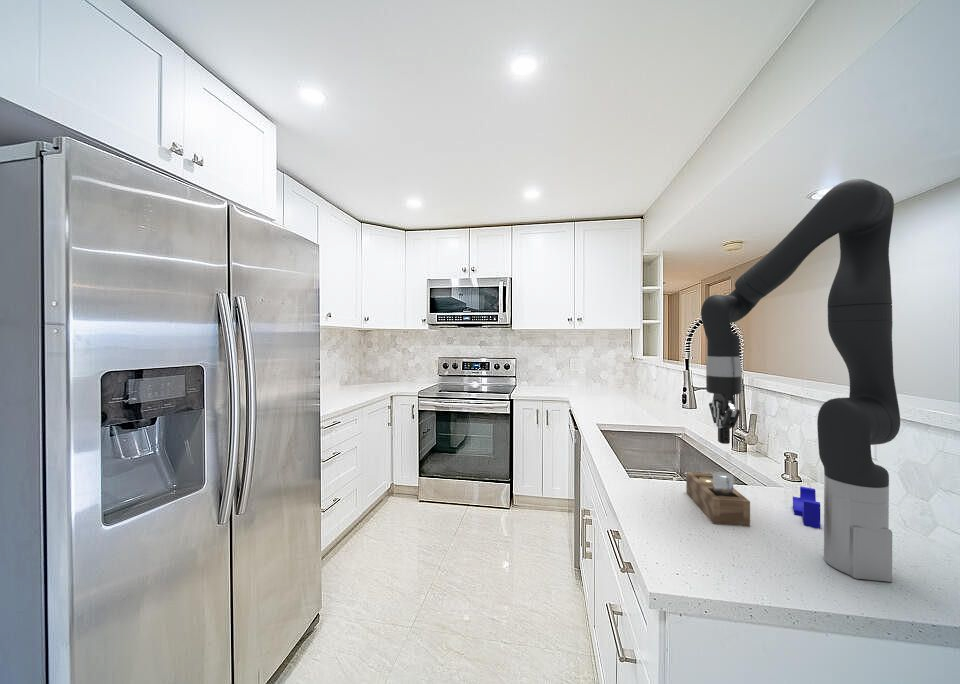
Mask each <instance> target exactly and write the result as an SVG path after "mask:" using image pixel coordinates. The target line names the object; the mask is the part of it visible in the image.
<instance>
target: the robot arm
mask: <svg viewBox="0 0 960 684" xmlns="http://www.w3.org/2000/svg"><path fill="white" fill-rule="evenodd" d="M894 209H895V200H894V197H893V195H892V193H891V192H890V191H889V189H887V188H885V187H884V186H882V185H879V184H878V183H875V182H873V181H870V180H867V179H862V178H854V179H848V180H845V181H843V182H840V183H838V184H836V185H835V186H833V187H832V188H830V189H829V190H828V191H827V192H826V194H824V195H823V196H822V197H821V198H820V199H819V201H817V203H816V204H815V205H814V206H813V207H812V208H811V209H810V210H809V211H808V213H807V214H806V215H805V216H804V217H803V218H802V219H801V220H800V221H799V222H798V223H797V224H796V225H795V226H794V228H793V229H791V230H790V231H789V233H788V234H786V236H785V237H784V238H783V239H782V240H781V241H780V242H778V244H777V245H776V246H775V247H774V248H772V249H771V250H770V251H769V252H768V253H767V254H765V256H763V257H762V258H760V259H759V260H758V261H757V262H756V263H755V264H754V265H753V266H751V267H750V268H749V269H747V270H746V271H745V272H744V273H743V274H741V276H738V278H737V279H736V280H735V282H734V290H733V291H731V293H729V294H728V295H724V294H713V295H710V296H709V297H707V298H706V299H705V300H704V301H703V303H702V306H701V310H700V317H701V322H702V326H703V329H704V333H705V336H706V341H707V343H706V346H707V349H706V351H707V355H706V356H707V358H706V364H705V365H706V367H705V369H706V370H705V371H706V372H705V374H706V375H705V377H706V379H705V381H706V382H705V383H706V390H705V391H706V392H707V393H709V394H712V395H713V396H712V400H711V402H709V403H708V406H709V409H710V410H709V411H710V413H711V417H712V421H713V424H715V426H716V428H717V442H718V443H720V444H723V445H728V444H730V443H731V440H730V439H731V431H730V430H731V429H732V428H733V429H734V428H735V426H736V424H737V421H738V419H739V416H740V413H741V412H740V411H741V410H740V409H736V401H735V395H739V394H741V393H742V364H741V363H742V362H741V357H740V356H741V347H740V345H741V344H740V336H739V335H737V334H736V333H735V332H733V331H732V327H731V326H732V325H731V324H734V323H736V322H739V321H740V320H742V319H743V318H745V317H746V316H747V315H748V314H749V313H750V312H751V311H752V310H753V309H754V308H755V307H756V306H757V305H758V303H759V302H760V300H762V299H763V298H765V297H766V296H768V295H769V294H770V293H771V292H773V291H774V290H775V289H777V288H778V287H779V286H781V285H783V283H785V282H786V281H787V280H788V279H789V278H790V277H791V276H792V275H793V274H794V273H795V272H796V271H797V269H798V268H799V267H800V265H801V264H802V263H803V261H805V260H806V259H807V257H808V256H809V255H810V254H811V253H813V251H815V249H817V248H818V247H819V246H821V245H822V244H823V243H825V242H826V241H828V240H829V239H831V238H832V237H834V236H836V235H837V234H838V236H839V237H838V238H839V239H838V240H839V251H840V253H839V256H840V257H839V264H838V268H837V271H836V273H835V275H834V279H833V282H832V283H831V285H830V286H831V287H830V289H829V293H828V299H827V329H828V333H829V336H830V338H831V340H832V343H833V345H834V347H835V349H836V350H837V352H838V353H839V355H840V356H841V357H842V360H843V362H844V363H845V365H846V368H847V371H848V378H849V396H848V397H836V398H831V399H828V400H827V401H825V402H824V403H823V404H822V405H820V408H819V409H818V414H817V426H816V427H817V428H816V429H817V441H818V442H817V443H818V455H819V460H820V461H821V463H822V465H823V472H824V473H823V474H824V476H823V477H824V479H823V481H824V482H823V484H824V485H823V486H824V487H823V489H824V490H823V560H824V561H825V562H826V563H827V564H828V565H829V566H831V567H832V568H833V569H836V570H837V571H840V572H842V573H844V574H847V575H849V576H851V578H853V579H858V580H867V581H880V582H893V531H892V530H891V529H889V528H890V527H889V525H890V524H889V523H890V522H889V521H890V520H889V519H890V517H889V516H890V514H889V513H890V511H889V510H890V509H889V507H890V503H889V502H890V489H889V488H890V475H889V471H888V470H887V469H886V468H885V467H883V466H882V465H879V464H876V463H875V462H874V461H873V457H872V447H871V446H875V445H883V444H887V443H890V442H891V441H893V440H894V439H895V438H896V437H897V435H898V434H899V432H900V429H901V413H900V406H899V401H898V396H897V395H898V394H897V389H896V382H895V376H894V375H895V374H894V352H893V298H892V297H893V295H892V279H891V278H892V277H891V267H890V265H891V263H890V256H889V255H890V253H889V252H890V241H891V240H890V239H891V234H892V233H891V232H892V224H893V217H894V211H895V210H894Z"/></svg>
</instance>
